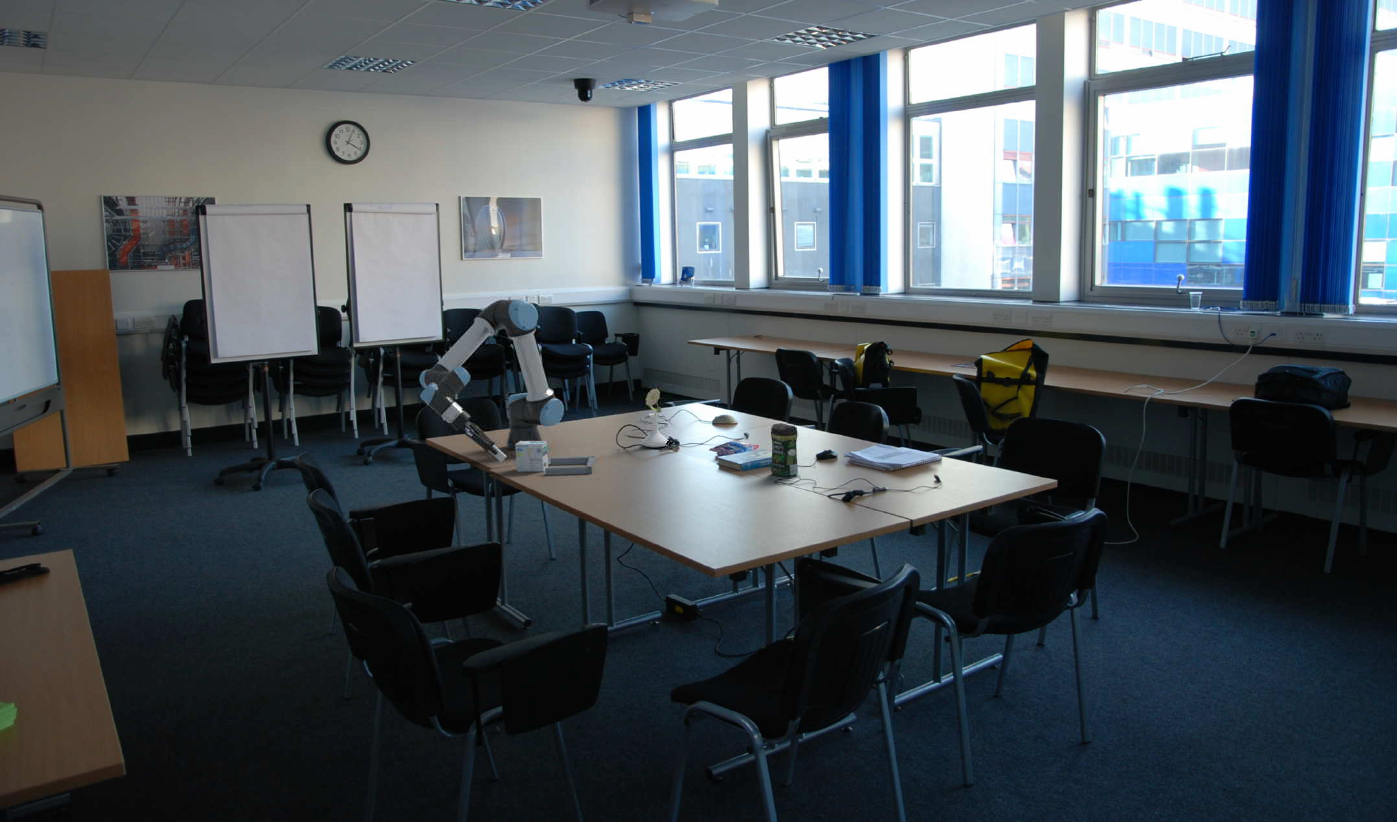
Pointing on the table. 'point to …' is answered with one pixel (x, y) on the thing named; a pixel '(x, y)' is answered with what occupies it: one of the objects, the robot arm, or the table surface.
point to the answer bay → (571, 470)
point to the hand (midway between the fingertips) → (503, 459)
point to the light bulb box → (531, 456)
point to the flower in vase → (654, 422)
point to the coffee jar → (784, 450)
